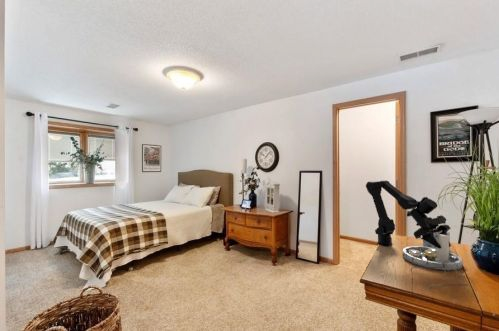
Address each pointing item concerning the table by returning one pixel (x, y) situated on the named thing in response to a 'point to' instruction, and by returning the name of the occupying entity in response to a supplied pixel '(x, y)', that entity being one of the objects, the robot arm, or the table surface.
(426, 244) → the light bulb box
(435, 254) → the carrier plate
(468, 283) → the eyeglasses
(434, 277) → the table surface
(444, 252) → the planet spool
